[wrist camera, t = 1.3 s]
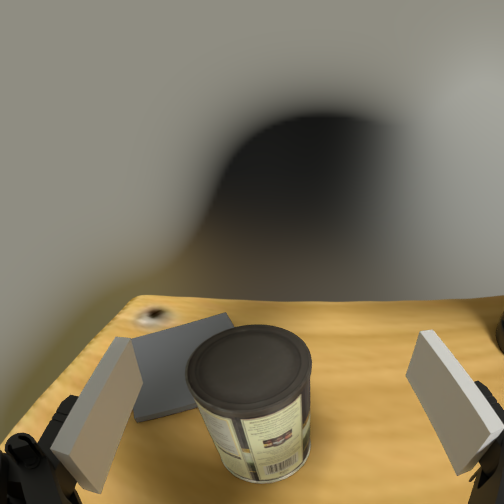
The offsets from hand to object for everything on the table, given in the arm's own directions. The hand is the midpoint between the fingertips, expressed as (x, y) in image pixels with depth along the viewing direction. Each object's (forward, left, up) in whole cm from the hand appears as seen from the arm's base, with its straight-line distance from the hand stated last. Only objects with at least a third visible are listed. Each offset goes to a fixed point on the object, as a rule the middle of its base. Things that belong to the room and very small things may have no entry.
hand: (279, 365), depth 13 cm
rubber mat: (+4, -27, -22) cm, 35 cm away
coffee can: (-1, -9, -22) cm, 24 cm away
